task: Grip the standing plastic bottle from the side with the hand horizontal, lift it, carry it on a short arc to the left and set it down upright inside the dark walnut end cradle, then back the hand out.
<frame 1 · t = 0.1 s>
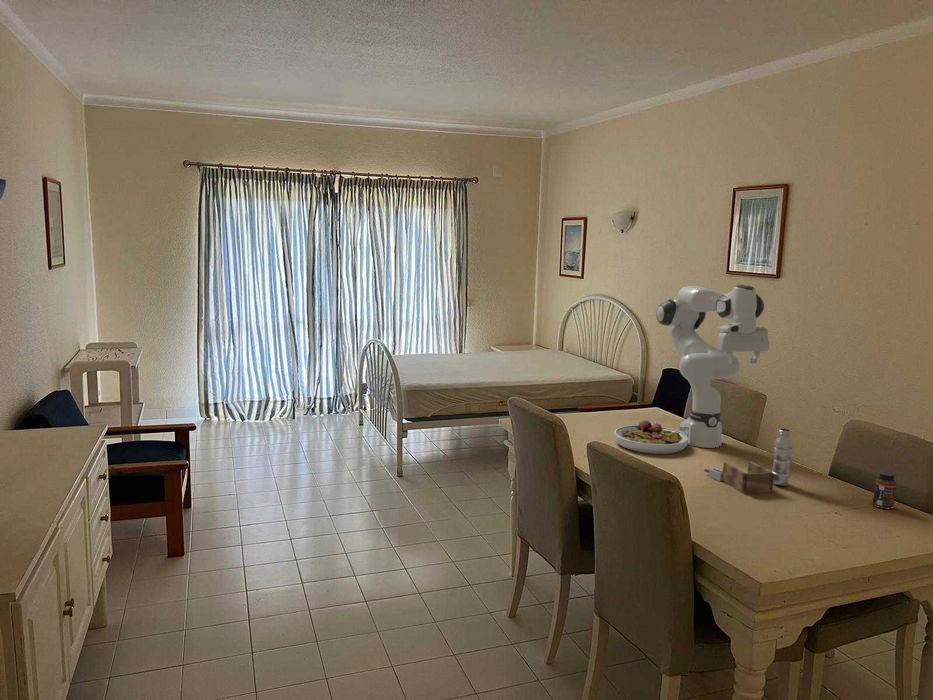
hand: (742, 363, 269), 39 cm above the table, tool pointing down, fingers open, 8 cm apart
bowl: (650, 446, 293), on the table
supplement bottle: (882, 507, 229), on the table
plastic bottle: (779, 485, 248), on the table
end cradle: (746, 486, 245), on the table
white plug: (717, 478, 252), on the table
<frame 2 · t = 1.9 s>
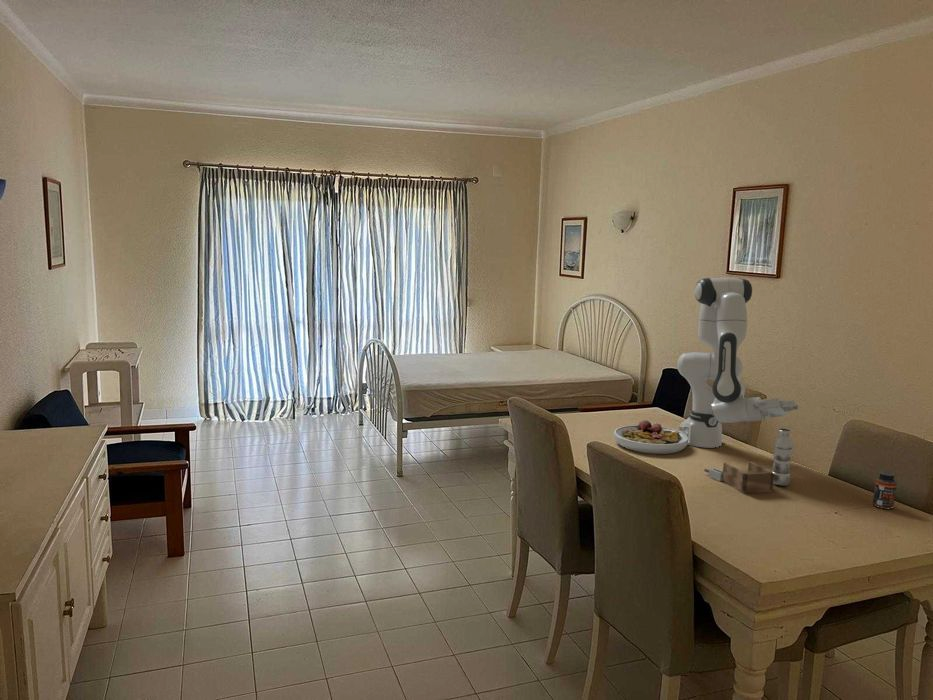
hand: (796, 405, 258), 26 cm above the table, tool horizontal, fingers open, 8 cm apart
nothing on the table moved.
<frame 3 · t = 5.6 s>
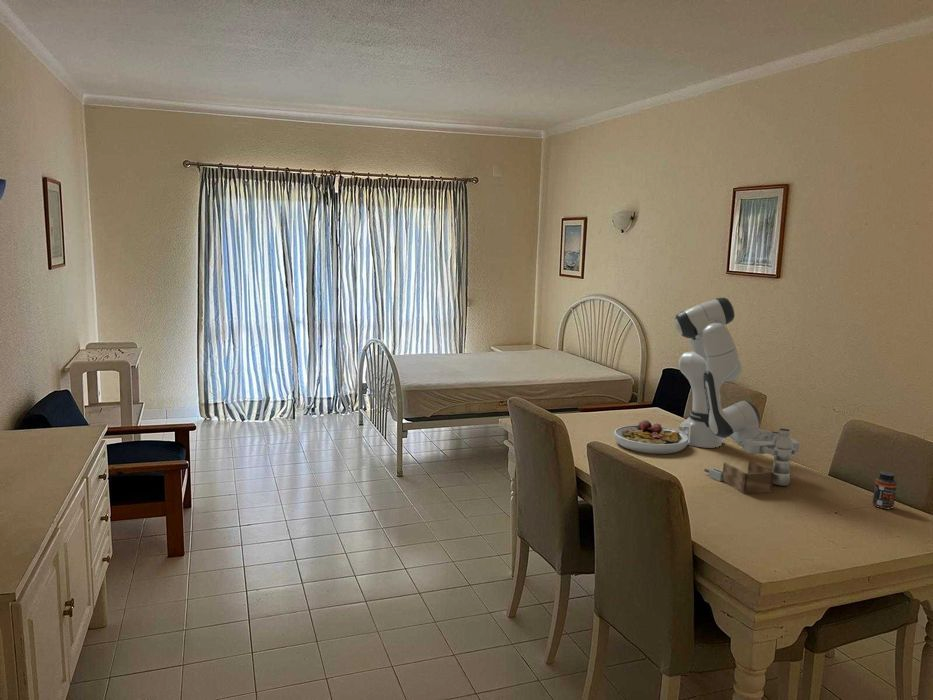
hand: (784, 452, 245), 12 cm above the table, tool horizontal, fingers closed on plastic bottle, 6 cm apart
plastic bottle: (779, 485, 248), on the table, touching gripper
everything else where it was.
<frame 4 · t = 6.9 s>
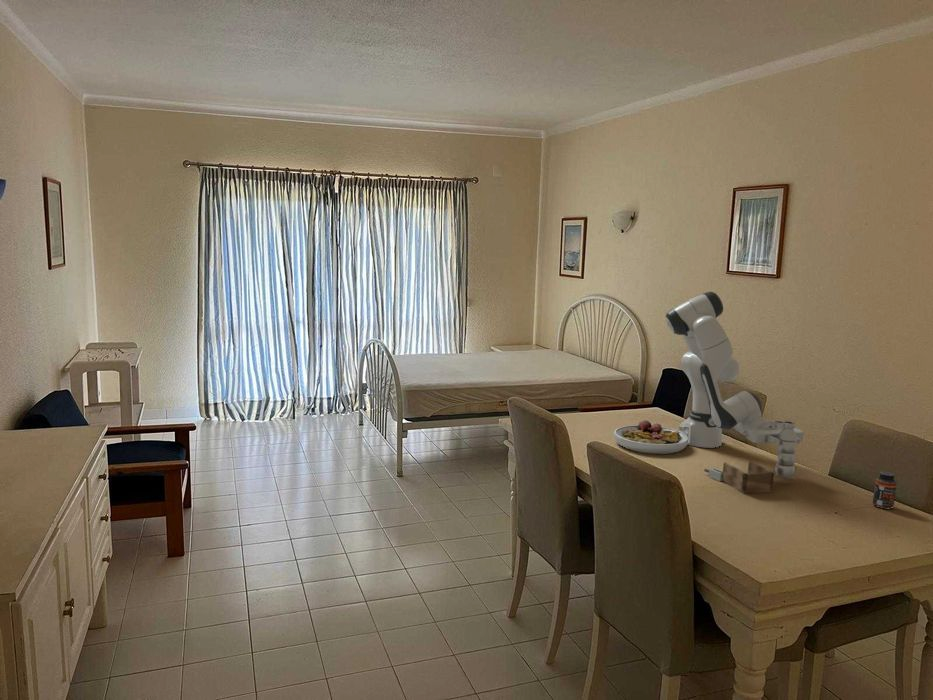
hand: (789, 441, 245), 16 cm above the table, tool horizontal, fingers closed on plastic bottle, 6 cm apart
plastic bottle: (784, 478, 248), point 2 cm above the table, touching gripper
everything else where it was.
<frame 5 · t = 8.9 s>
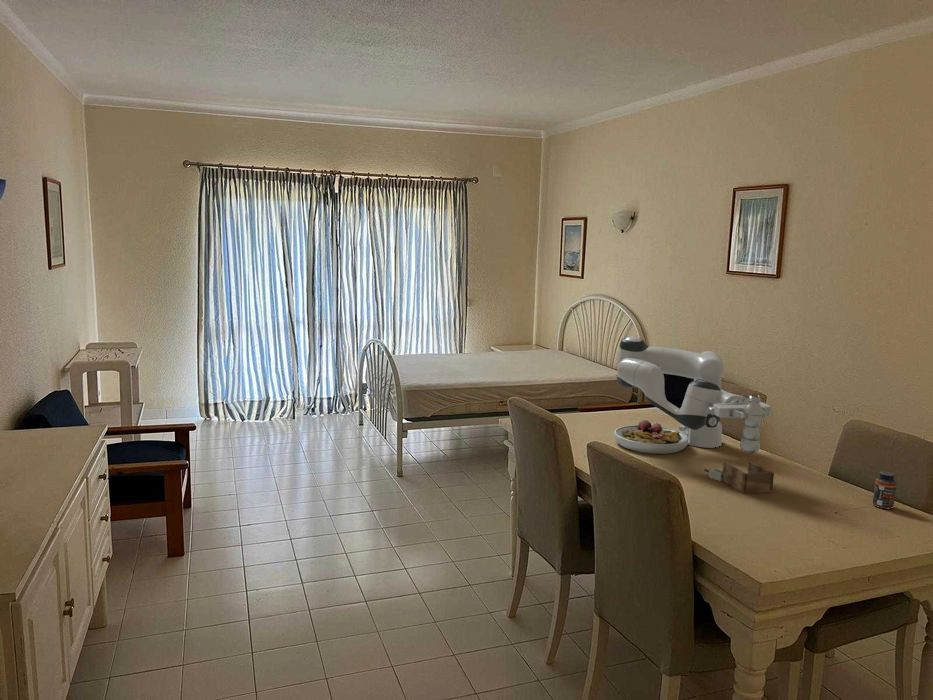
hand: (754, 415, 240), 26 cm above the table, tool horizontal, fingers closed on plastic bottle, 6 cm apart
plastic bottle: (749, 452, 243), point 12 cm above the table, touching gripper
everything else where it was.
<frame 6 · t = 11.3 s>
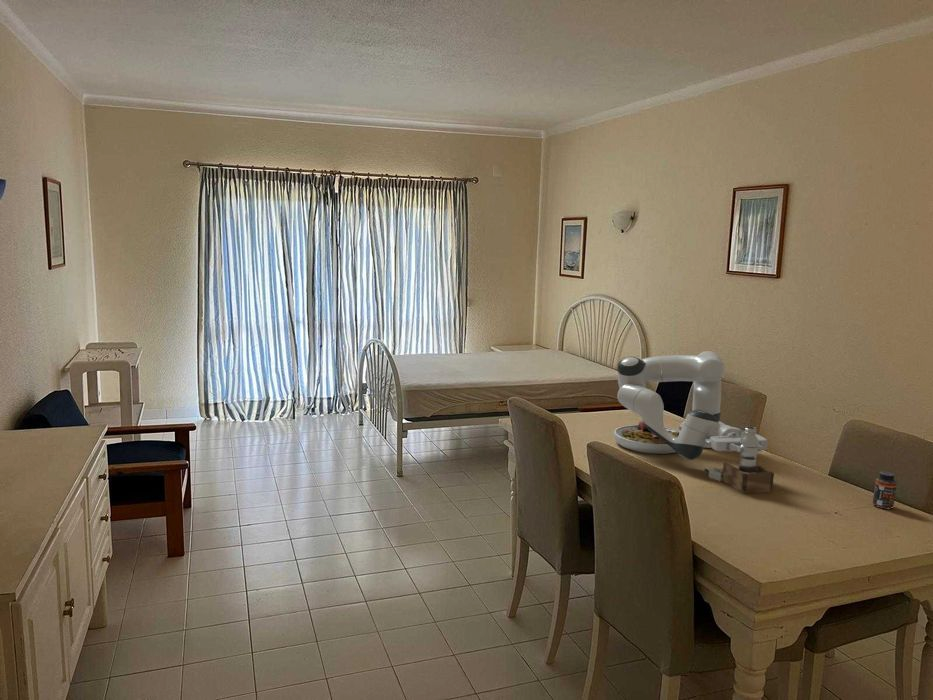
hand: (751, 449, 242), 14 cm above the table, tool horizontal, fingers closed on plastic bottle, 6 cm apart
plastic bottle: (745, 483, 245), point 1 cm above the table, touching end cradle, gripper
everything else where it was.
when the fingers open (14 cm above the table, at t = 11.7 s): plastic bottle stays where it is, resting on end cradle.
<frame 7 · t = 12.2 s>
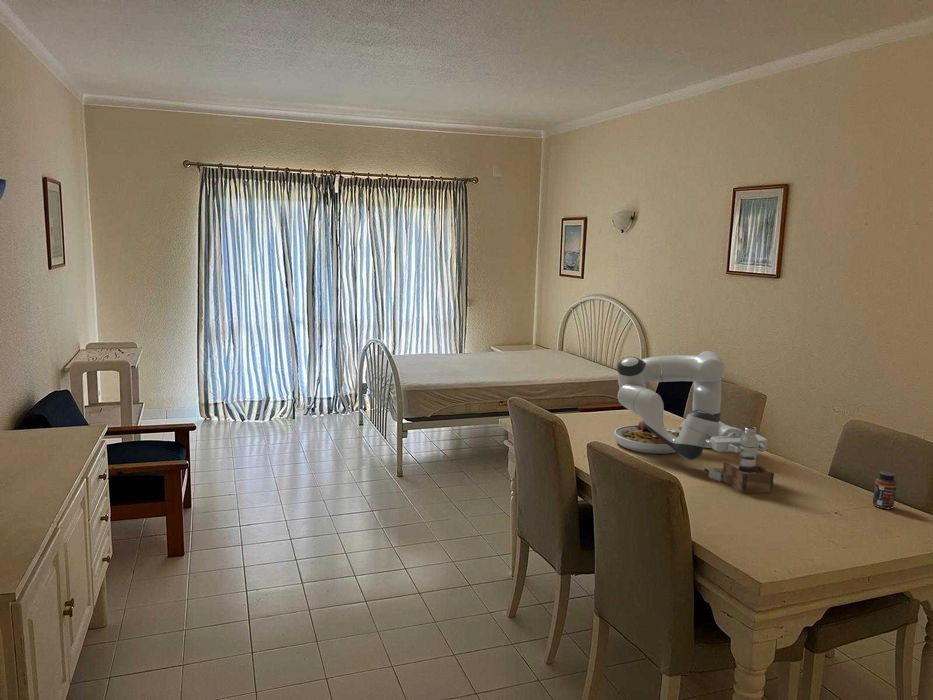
hand: (751, 449, 242), 14 cm above the table, tool horizontal, fingers open, 8 cm apart
plastic bottle: (745, 483, 245), point 1 cm above the table, touching end cradle
everything else where it was.
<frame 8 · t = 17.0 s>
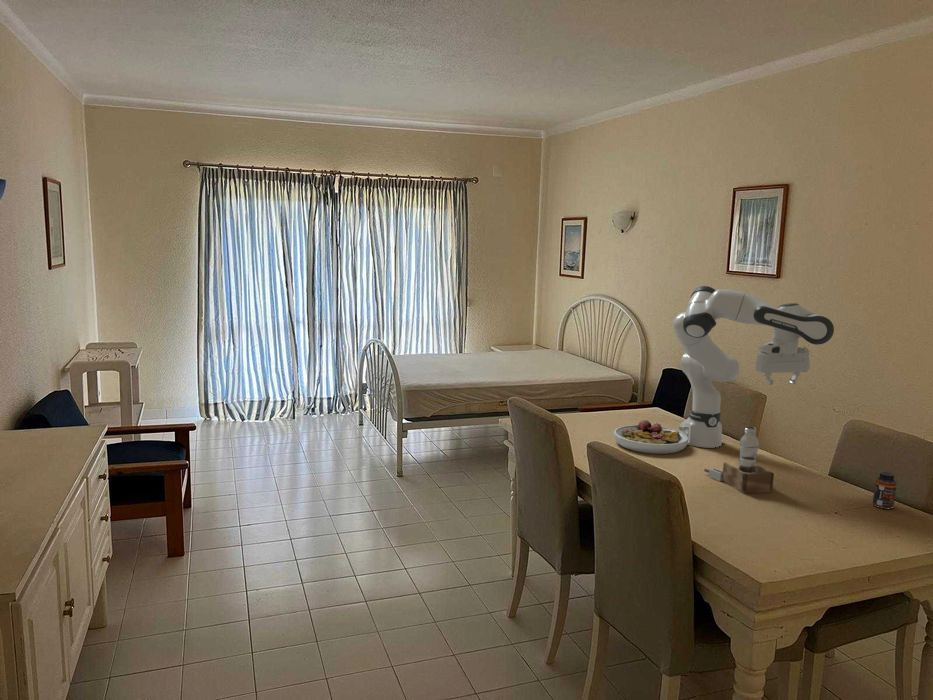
hand: (781, 384, 259), 33 cm above the table, tool pointing down, fingers open, 8 cm apart
nothing on the table moved.
at the end: plastic bottle 0.4 cm from the end cradle (horizontally); plastic bottle tilted 0°; the gripper is holding nothing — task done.
